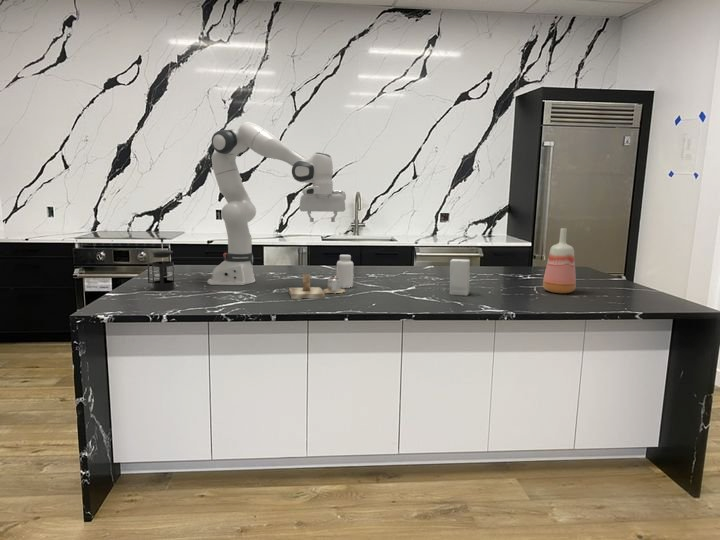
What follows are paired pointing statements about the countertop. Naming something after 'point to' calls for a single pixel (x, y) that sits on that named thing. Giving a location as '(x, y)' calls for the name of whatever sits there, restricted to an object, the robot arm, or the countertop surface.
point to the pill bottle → (345, 271)
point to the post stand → (306, 290)
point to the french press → (162, 270)
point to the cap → (333, 284)
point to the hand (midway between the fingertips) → (322, 221)
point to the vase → (560, 267)
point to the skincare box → (459, 276)
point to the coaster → (333, 292)
